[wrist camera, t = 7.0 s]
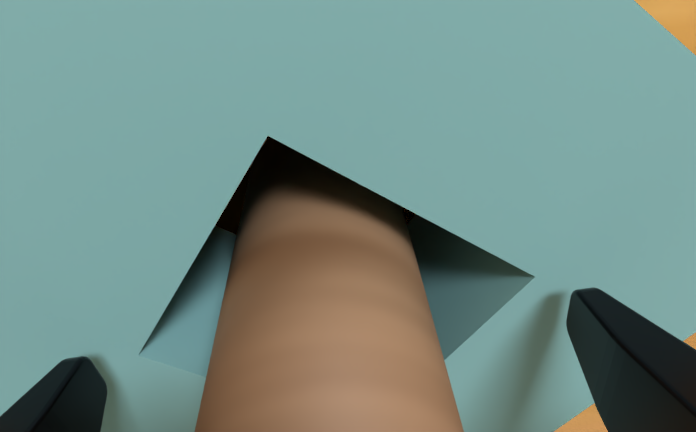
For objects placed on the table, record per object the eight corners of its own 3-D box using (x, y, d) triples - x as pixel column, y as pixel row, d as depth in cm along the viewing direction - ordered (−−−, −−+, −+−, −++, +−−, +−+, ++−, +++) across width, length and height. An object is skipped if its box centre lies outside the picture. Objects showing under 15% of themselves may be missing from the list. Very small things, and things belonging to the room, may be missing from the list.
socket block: (385, 394, 19) (405, 535, 15) (-2, 256, 14) (-129, 408, 10) (690, 105, 13) (868, 210, 9) (179, -319, 8) (36, -534, 4)
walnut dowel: (343, 261, 15) (381, 711, 7) (225, 207, 14) (96, 690, 6) (421, 164, 13) (595, 615, 5) (293, 91, 12) (253, 549, 4)
